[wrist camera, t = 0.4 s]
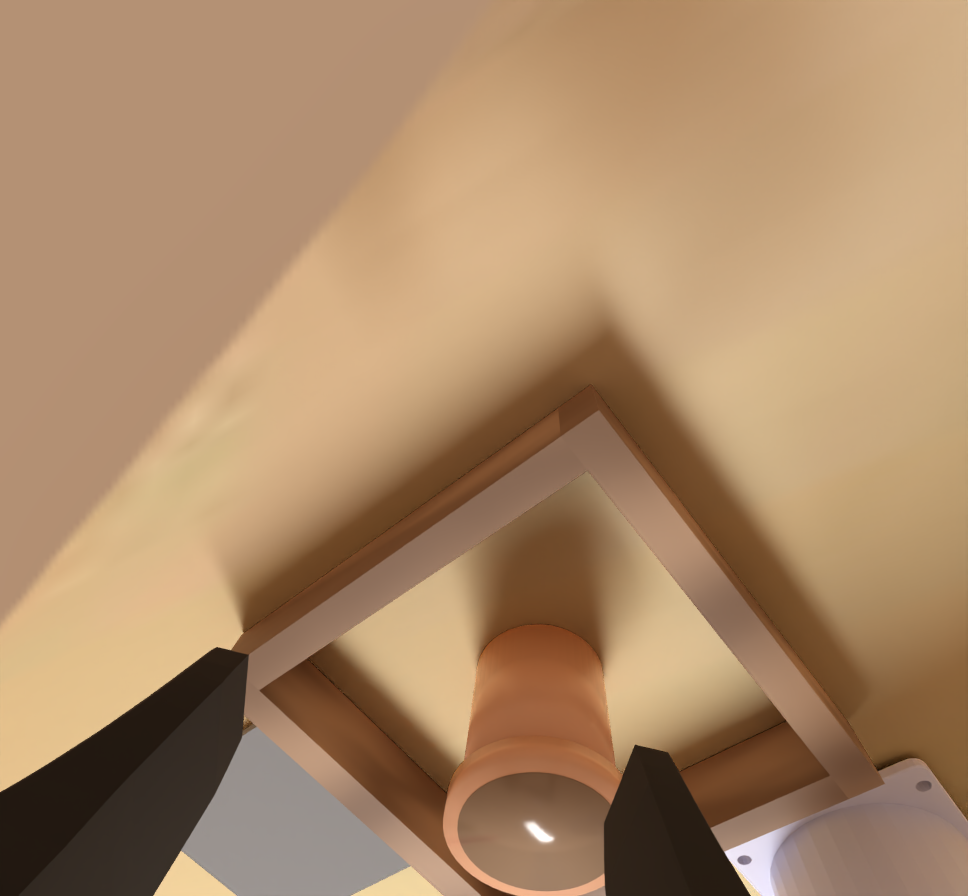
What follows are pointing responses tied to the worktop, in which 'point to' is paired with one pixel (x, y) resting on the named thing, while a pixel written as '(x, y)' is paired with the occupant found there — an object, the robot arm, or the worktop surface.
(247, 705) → the frame
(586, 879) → the terracotta pot
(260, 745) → the slate mat
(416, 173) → the worktop surface
